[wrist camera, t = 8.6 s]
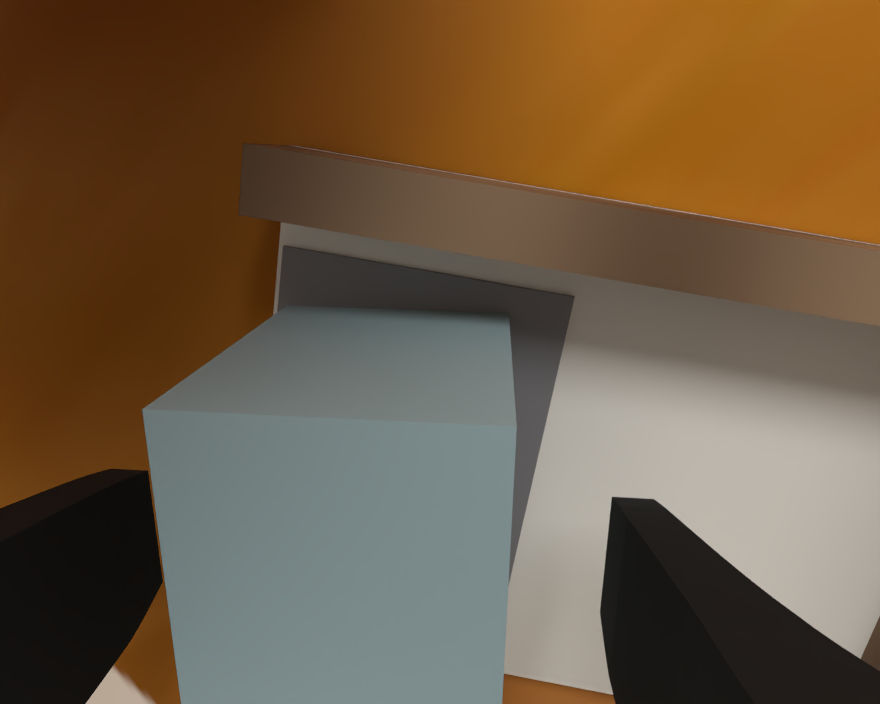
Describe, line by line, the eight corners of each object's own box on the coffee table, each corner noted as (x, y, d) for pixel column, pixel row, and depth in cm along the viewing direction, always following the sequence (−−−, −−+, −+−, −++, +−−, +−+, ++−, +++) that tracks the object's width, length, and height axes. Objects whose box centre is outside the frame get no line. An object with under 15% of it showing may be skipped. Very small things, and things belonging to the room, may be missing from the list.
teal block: (495, 599, 13) (494, 852, 8) (303, 586, 13) (196, 823, 9) (508, 312, 11) (516, 426, 7) (287, 305, 12) (142, 408, 7)
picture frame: (1070, 276, 11) (1229, 310, 9) (860, 725, 14) (935, 842, 12) (295, 145, 11) (243, 143, 9) (255, 607, 14) (207, 697, 12)
